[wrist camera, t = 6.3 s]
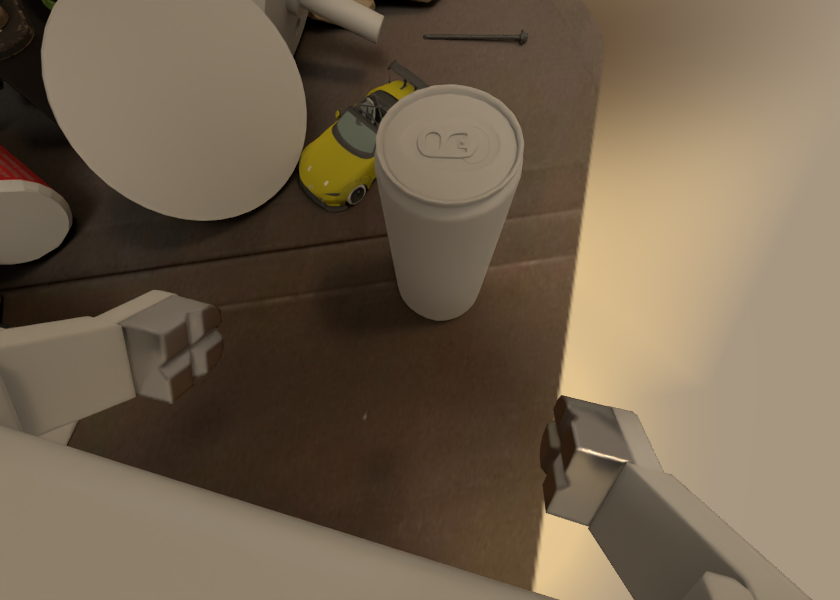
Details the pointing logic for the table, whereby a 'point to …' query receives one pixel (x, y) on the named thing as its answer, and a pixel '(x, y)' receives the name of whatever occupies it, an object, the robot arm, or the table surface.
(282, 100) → the monster figurine
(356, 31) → the motor
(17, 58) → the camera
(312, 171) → the toy car
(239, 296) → the table surface
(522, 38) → the screw
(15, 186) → the soda can
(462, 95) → the beverage can
